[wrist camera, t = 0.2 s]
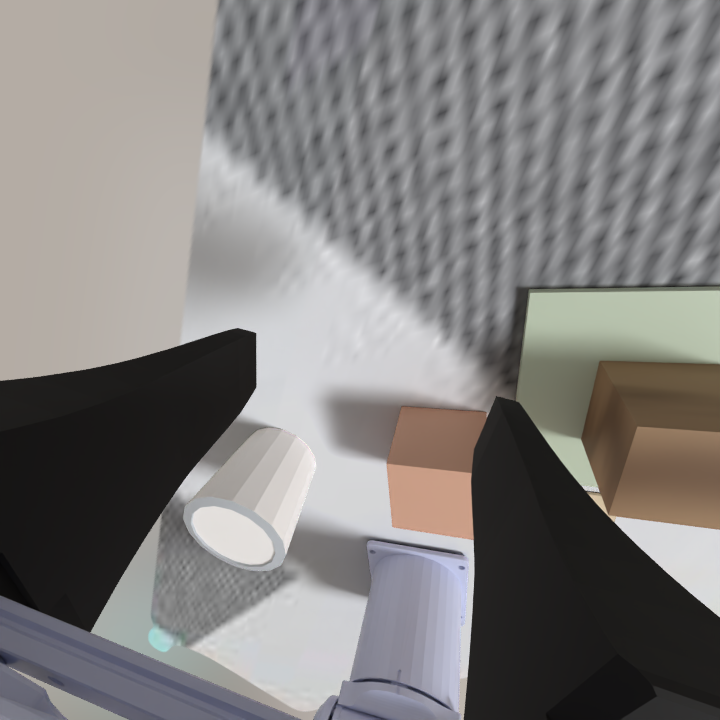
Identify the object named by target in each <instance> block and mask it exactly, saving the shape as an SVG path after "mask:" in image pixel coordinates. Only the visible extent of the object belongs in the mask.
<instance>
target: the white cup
mask: <svg viewBox="0 0 720 720" xmlns="http://www.w3.org/2000/svg"><path fill="white" fill-rule="evenodd" d="M315 469H316V463H315V456H314V455H313V453H312V451H311V450H310V448H309V446H308V445H307V444H306V443H304V442H303V441H302V440H301V439H300V438H299V437H297V436H296V435H294V434H292V433H290V432H287V431H285V430H283V429H277V428H270V427H268V428H264V429H259V430H257V431H255V432H254V433H253V434H252V435H251V436H250V437H249V438H248V439H247V440H246V441H245V442H244V443H243V444H242V445H241V446H240V448H239V449H238V450H237V451H236V452H235V453H234V454H233V455H232V456H231V457H230V458H229V459H228V460H227V462H226V463H225V464H224V465H223V466H222V467H221V468H220V469H219V470H218V471H217V472H216V473H215V474H214V476H213V477H212V478H211V479H210V480H209V481H208V482H207V483H206V484H205V485H204V486H203V487H202V489H201V490H200V491H199V492H198V493H197V494H196V495H195V496H194V497H193V498H192V499H191V500H190V501H189V503H188V504H187V505H186V506H185V508H184V515H183V520H184V522H185V524H186V527H187V529H188V532H189V533H190V534H191V535H192V536H193V538H194V539H195V540H196V541H197V542H198V543H199V545H200V546H202V547H203V548H204V549H206V550H207V551H208V552H210V553H211V554H212V555H214V556H215V557H216V558H218V559H221V560H223V561H225V562H227V563H229V564H231V565H233V566H235V567H239V568H243V569H247V570H251V571H270V570H272V569H274V568H276V567H278V566H281V564H282V562H283V560H284V558H285V556H286V554H287V551H288V548H289V545H290V542H291V539H292V536H293V533H294V530H295V527H296V525H297V522H298V519H299V516H300V513H301V510H302V507H303V504H304V501H305V498H306V495H307V493H308V490H309V487H310V484H311V481H312V478H313V475H314V472H315Z"/></svg>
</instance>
